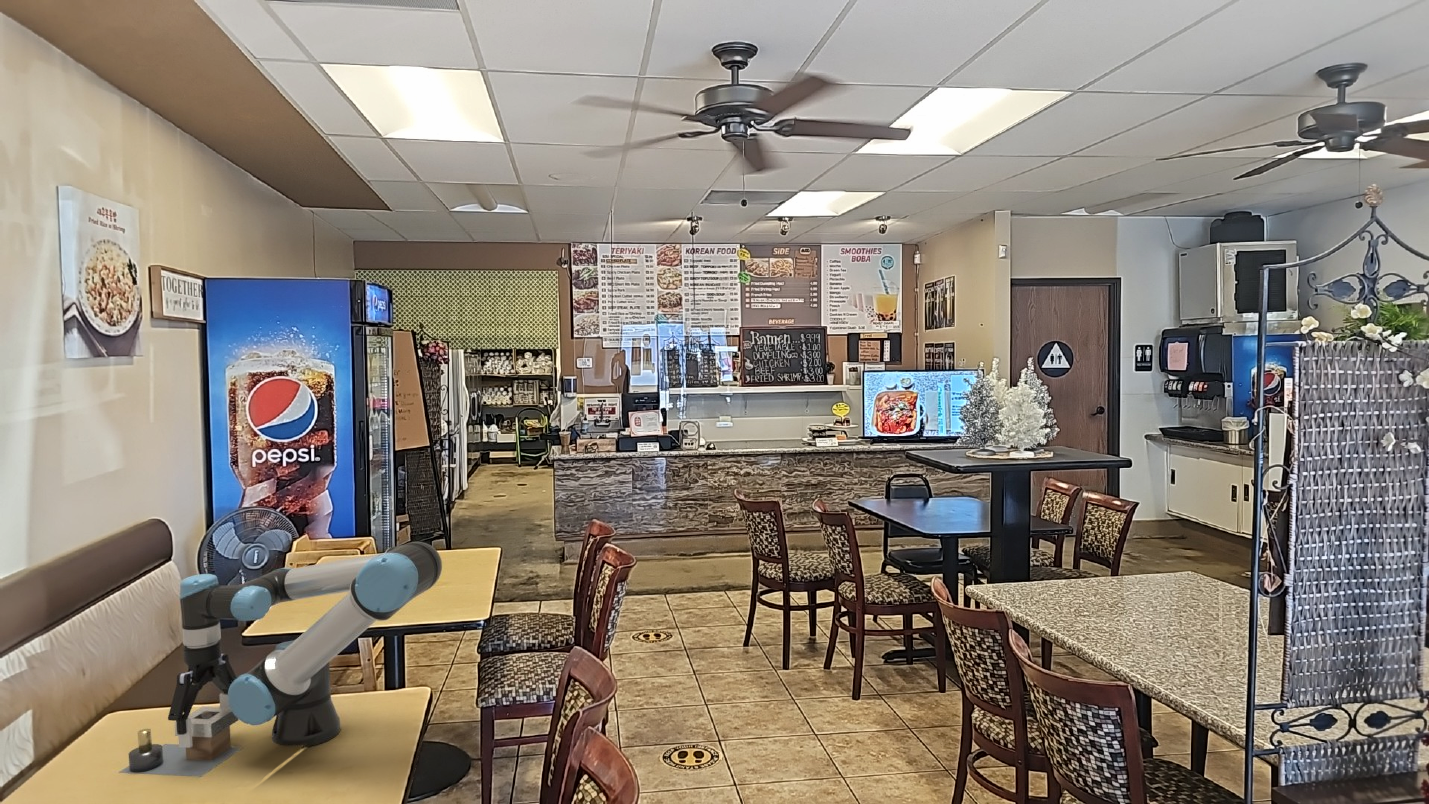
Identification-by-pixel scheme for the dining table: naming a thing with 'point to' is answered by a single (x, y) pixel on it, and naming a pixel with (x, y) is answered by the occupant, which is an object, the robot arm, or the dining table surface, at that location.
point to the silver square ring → (210, 721)
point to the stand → (209, 744)
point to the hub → (145, 754)
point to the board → (184, 762)
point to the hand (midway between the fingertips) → (207, 733)
